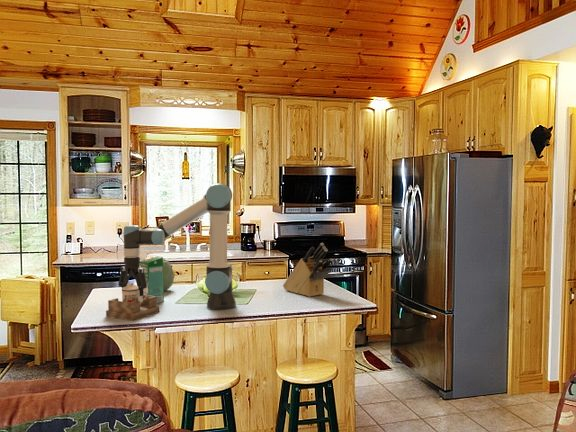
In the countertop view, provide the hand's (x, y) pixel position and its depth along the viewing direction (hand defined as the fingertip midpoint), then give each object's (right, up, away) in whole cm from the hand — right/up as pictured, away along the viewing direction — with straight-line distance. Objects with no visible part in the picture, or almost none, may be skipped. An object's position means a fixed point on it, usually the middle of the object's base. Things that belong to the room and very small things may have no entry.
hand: (132, 301), depth 250 cm
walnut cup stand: (0, -6, 0) cm, 6 cm away
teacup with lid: (+1, -2, 0) cm, 3 cm away
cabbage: (0, -4, +58) cm, 58 cm away
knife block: (+89, -4, +46) cm, 101 cm away
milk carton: (+2, -5, +28) cm, 29 cm away
